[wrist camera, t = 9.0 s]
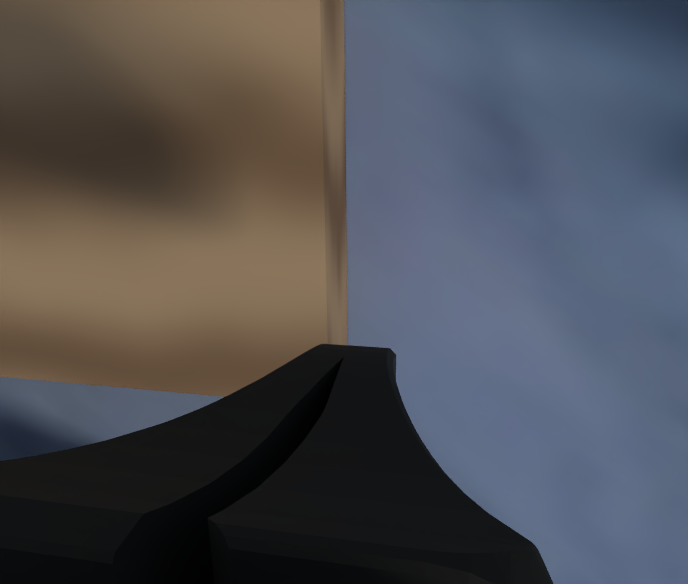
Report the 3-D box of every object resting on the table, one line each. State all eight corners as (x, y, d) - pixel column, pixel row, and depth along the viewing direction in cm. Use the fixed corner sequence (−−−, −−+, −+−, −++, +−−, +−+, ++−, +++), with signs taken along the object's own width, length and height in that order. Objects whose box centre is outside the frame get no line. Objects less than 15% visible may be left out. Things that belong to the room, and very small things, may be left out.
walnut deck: (347, 362, 22) (329, 405, 19) (-13, 334, 24) (-75, 369, 22) (342, -113, 17) (316, -147, 14) (-104, -84, 20) (-200, -107, 17)
